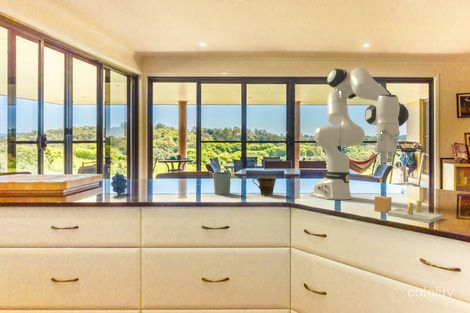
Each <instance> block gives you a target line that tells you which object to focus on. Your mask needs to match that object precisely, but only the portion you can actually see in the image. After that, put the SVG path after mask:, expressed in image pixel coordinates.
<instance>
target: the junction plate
mask: <svg viewBox="0 0 470 313" xmlns="http://www.w3.org/2000/svg"><path fill="white" fill-rule="evenodd" d="M422 204H423V202H422V200H416V201H415V205H414V203H413V202H407V208H404V207H399V208H395V209H391V211H388V212H387V216H390V217H395V218H396V217H397V218H402V219H406V220H412V221H416V222H417V221H418V222H422V223H427V224H431V223H434V222H436V221H439V220H442V219H443V214H439V213H434V212H428V211H422V208H423V207H422ZM414 206H415V209H414Z"/></svg>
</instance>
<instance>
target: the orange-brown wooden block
mask: <svg viewBox="0 0 470 313" xmlns="http://www.w3.org/2000/svg"><path fill="white" fill-rule="evenodd" d="M373 206H374V211H373V212H379V213H384V214H388V211H392V196H384V195H378V196H374V205H373Z"/></svg>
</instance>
